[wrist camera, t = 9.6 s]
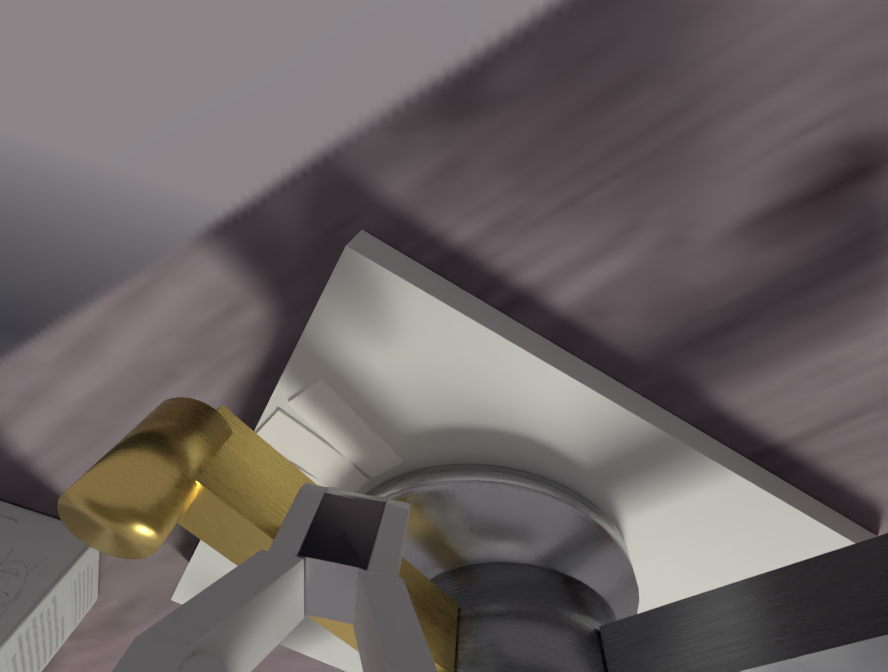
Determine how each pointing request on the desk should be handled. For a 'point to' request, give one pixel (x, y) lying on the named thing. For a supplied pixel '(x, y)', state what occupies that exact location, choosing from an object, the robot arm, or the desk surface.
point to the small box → (40, 587)
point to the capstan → (489, 561)
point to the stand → (513, 435)
